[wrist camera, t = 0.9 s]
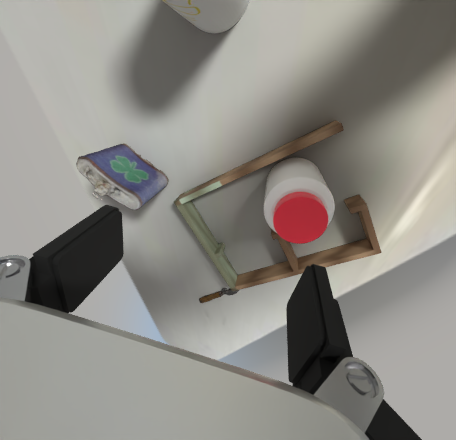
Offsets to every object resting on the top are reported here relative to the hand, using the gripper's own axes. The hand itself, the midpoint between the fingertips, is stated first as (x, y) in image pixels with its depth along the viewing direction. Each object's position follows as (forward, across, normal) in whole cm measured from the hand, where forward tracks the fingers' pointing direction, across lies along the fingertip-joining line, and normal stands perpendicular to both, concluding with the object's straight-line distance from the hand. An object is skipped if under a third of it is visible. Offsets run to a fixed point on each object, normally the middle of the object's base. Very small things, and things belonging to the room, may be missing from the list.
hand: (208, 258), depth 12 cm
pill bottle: (+24, -7, +4) cm, 25 cm away
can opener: (+24, -1, +30) cm, 38 cm away
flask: (+24, +16, +7) cm, 30 cm away
